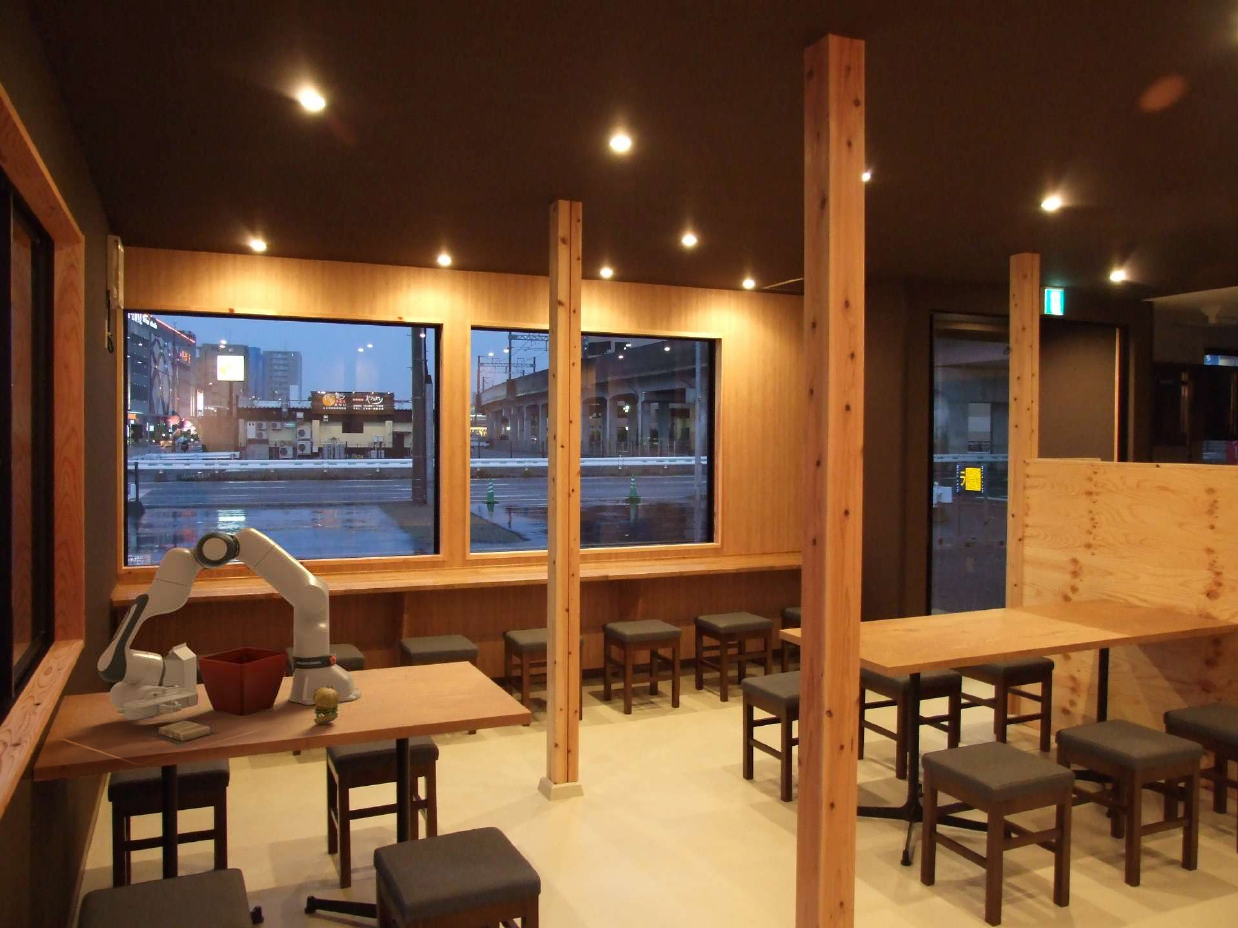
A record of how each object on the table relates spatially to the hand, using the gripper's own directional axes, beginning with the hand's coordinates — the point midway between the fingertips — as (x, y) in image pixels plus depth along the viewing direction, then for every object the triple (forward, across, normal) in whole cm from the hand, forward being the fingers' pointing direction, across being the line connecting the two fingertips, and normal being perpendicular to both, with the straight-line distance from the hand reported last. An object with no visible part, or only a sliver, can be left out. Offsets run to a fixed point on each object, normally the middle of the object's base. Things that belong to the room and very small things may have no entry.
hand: (176, 708), depth 259 cm
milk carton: (-28, +18, +7) cm, 34 cm away
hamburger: (+29, +29, +7) cm, 41 cm away
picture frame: (-2, 0, +6) cm, 6 cm away
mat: (+3, 0, +7) cm, 8 cm away
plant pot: (-7, +26, +7) cm, 28 cm away
